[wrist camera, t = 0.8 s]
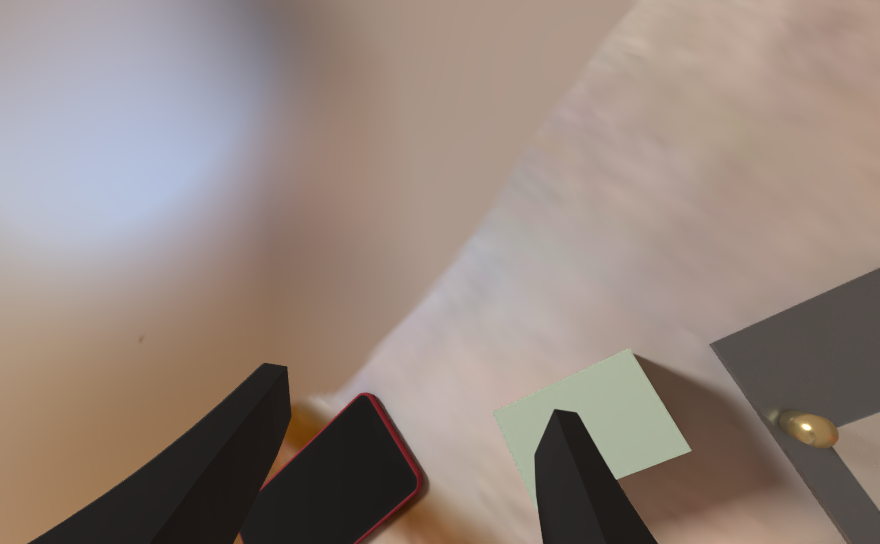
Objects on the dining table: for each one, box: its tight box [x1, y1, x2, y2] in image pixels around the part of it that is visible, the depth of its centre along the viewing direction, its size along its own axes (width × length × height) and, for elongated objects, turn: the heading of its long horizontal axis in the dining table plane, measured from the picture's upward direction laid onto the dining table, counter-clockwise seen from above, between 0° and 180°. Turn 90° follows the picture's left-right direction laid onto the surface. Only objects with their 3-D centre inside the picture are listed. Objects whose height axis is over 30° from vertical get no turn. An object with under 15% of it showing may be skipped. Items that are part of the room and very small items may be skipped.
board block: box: [493, 348, 692, 510], centre depth 20 cm, size 4×7×5 cm, turn 114°
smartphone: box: [239, 393, 422, 544], centre depth 28 cm, size 7×1×15 cm
